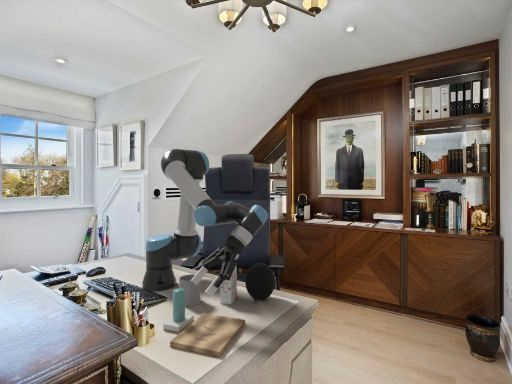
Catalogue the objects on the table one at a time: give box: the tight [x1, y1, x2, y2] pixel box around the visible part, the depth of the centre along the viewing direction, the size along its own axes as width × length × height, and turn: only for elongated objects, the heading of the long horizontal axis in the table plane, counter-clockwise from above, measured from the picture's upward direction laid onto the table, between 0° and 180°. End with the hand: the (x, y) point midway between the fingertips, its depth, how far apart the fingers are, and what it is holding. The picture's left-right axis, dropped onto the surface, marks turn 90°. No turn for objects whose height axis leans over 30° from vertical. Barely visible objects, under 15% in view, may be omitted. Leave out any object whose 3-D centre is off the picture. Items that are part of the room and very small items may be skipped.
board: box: [169, 312, 246, 358], centre depth 92 cm, size 16×20×2 cm
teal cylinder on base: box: [162, 287, 195, 334], centre depth 98 cm, size 6×9×12 cm, turn 161°
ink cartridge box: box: [219, 265, 238, 305], centre depth 119 cm, size 9×5×15 cm, turn 168°
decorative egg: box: [244, 262, 276, 301], centre depth 120 cm, size 12×12×15 cm
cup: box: [178, 273, 202, 307], centre depth 117 cm, size 8×8×10 cm
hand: (200, 288), depth 100 cm, fingers open, 13 cm apart
